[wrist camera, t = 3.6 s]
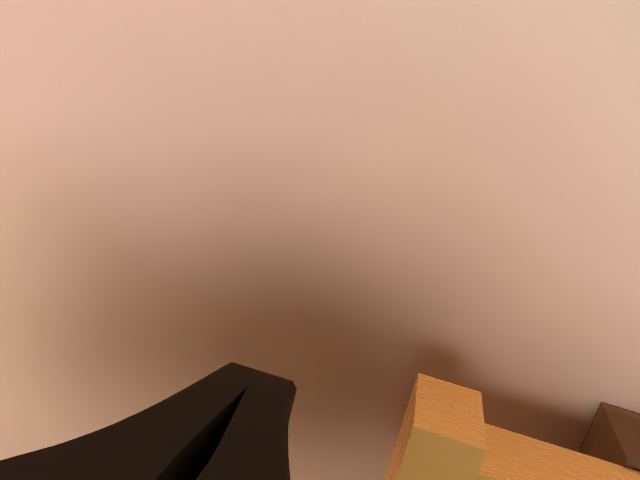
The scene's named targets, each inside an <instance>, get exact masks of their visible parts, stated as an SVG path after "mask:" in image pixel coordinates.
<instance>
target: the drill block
mask: <svg viewBox="0 0 640 480" xmlns="http://www.w3.org/2000/svg"><path fill="white" fill-rule="evenodd" d="M579 453H582V454H585V455H588V456H592V457H595V458H598V459H601V460H604V461H608V462H611V463H614V464H617V465H620V466H623V467H627V468H630V469H633V470H636V471H639V472H640V414H637V413H634V412H631V411H627V410H624V409H621V408H618V407H614V406H611V405H608V404H604V403H601V405H600V407H599V410H598V412H597V414H596V416H595V419H594V421H593V423H592V425H591V428H590V430H589V432H588V434H587V437H586V439H585V441H584V443H583V446H582V448H581V450H580V452H579Z"/></svg>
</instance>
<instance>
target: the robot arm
mask: <svg viewBox="0 0 640 480" xmlns="http://www.w3.org/2000/svg"><path fill="white" fill-rule="evenodd" d="M296 389H297V388H296V386H295V385H294V383H293V381H290V380H287V379H284V378H281V377H277V376H274V375H271V374H268V373H265V372H262V371H258V370H255V369H252V368H249V367H246V366H243V365H239V364H236V363H233V362H231V363H229V364H227V365H225V366H224V367H222V368H220V369H218V370H216V371H215V372H213V373H211V374H209V375H208V376H206V377H204V378H203V379H201V380H199V381H197V382H196V383H194V384H192V385H190V386H189V387H187V388H185V389H183V390H182V391H180V392H178V393H176V394H174V395H172V396H170V397H168V398H167V399H165V400H163V401H161V402H159V403H157V404H155V405H153V406H151V407H149V408H147V409H145V410H143V411H141V412H139V413H137V414H135V415H132V416H130V417H128V418H126V419H124V420H122V421H120V422H117V423H115V424H113V425H110V426H108V427H105V428H103V429H100V430H98V431H95V432H92V433H90V434H87V435H84V436H81V437H78V438H76V439H73V440H70V441H67V442H64V443H61V444H58V445H55V446H51V447H48V448H44V449H40V450H37V451H33V452H30V453H26V454H22V455H19V456H15V457H11V458H8V459H4V460H1V461H0V480H290V472H289V459H288V422H289V418H290V414H291V410H292V406H293V402H294V398H295V394H296Z"/></svg>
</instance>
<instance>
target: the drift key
mask: <svg viewBox="0 0 640 480" xmlns="http://www.w3.org/2000/svg"><path fill="white" fill-rule="evenodd" d="M384 480H640V472H639V471H636V470H633V469H630V468H627V467H623V466H620V465H617V464H614V463H611V462H608V461H604V460H601V459H598V458H595V457H592V456H588V455H585V454H582V453H579V452H576V451H572V450H569V449H566V448H563V447H560V446H557V445H553V444H550V443H547V442H544V441H541V440H537V439H534V438H531V437H528V436H525V435H522V434H518V433H515V432H512V431H509V430H506V429H502V428H499V427H496V426H493V425H490V424H486V423H484V414H483V405H482V395H481V392H479V391H476V390H473V389H470V388H466V387H463V386H460V385H457V384H453V383H450V382H447V381H444V380H440V379H437V378H434V377H431V376H427V375H424V374H421V373H418V376H417V379H416V382H415V385H414V388H413V391H412V394H411V397H410V400H409V403H408V406H407V410H406V413H405V416H404V419H403V422H402V425H401V428H400V431H399V434H398V437H397V440H396V444H395V447H394V450H393V453H392V456H391V459H390V462H389V465H388V468H387V471H386V475H385V478H384Z"/></svg>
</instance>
